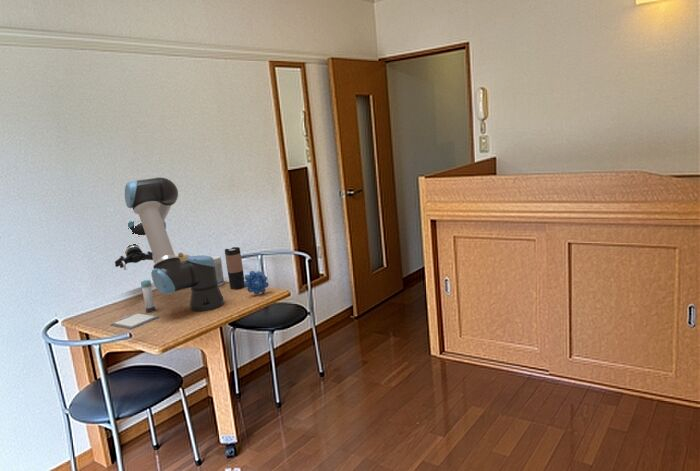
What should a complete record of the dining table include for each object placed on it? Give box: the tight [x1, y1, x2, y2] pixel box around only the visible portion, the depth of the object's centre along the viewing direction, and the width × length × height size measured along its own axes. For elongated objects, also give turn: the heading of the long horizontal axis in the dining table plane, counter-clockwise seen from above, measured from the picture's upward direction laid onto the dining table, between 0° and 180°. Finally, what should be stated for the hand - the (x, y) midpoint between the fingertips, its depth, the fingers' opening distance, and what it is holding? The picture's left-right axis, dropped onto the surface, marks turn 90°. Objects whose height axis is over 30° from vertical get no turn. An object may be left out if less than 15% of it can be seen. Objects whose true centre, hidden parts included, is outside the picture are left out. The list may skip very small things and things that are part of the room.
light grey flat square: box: [110, 312, 160, 330], centre depth 228 cm, size 14×14×1 cm
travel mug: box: [224, 246, 246, 291], centre depth 263 cm, size 8×8×20 cm
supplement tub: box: [209, 255, 225, 287], centre depth 272 cm, size 10×10×15 cm
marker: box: [140, 279, 156, 313], centre depth 239 cm, size 4×4×14 cm
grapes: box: [244, 270, 269, 296], centre depth 247 cm, size 12×7×12 cm, turn 116°
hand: (140, 264), depth 244 cm, fingers open, 13 cm apart
